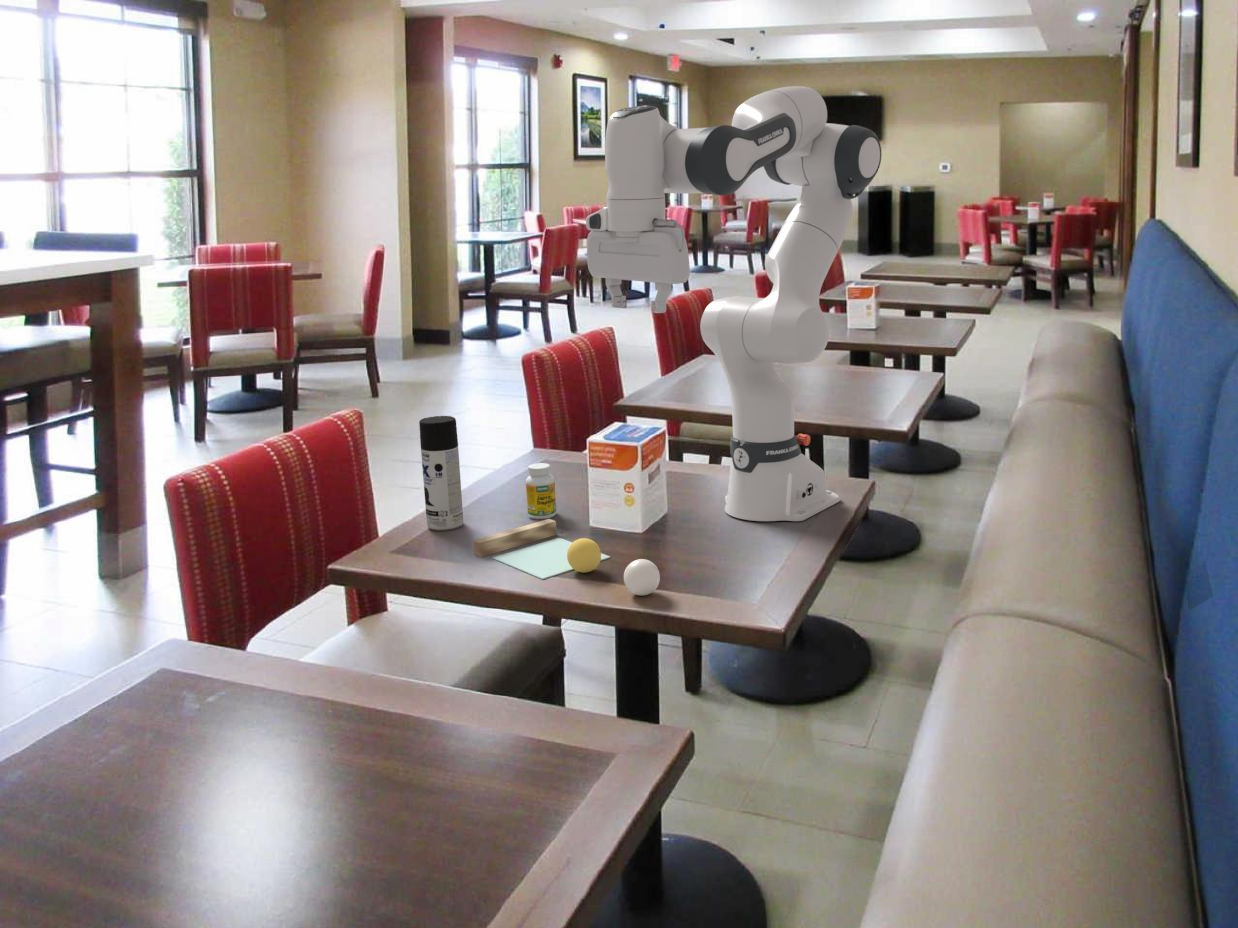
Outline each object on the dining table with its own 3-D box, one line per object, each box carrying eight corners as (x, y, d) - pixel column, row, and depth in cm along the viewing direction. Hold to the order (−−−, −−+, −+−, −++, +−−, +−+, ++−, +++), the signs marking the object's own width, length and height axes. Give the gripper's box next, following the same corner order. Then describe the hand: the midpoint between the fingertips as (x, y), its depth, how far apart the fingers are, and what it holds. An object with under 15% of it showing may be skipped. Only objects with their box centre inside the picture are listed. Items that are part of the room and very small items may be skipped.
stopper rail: (549, 532, 207) (549, 518, 206) (556, 534, 205) (555, 521, 205) (474, 554, 197) (473, 540, 196) (480, 557, 196) (479, 543, 195)
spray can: (423, 523, 215) (414, 417, 209) (458, 517, 217) (450, 413, 212) (432, 533, 209) (423, 425, 203) (468, 527, 211) (460, 420, 206)
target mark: (559, 538, 203) (558, 537, 203) (610, 557, 193) (610, 556, 193) (492, 558, 195) (492, 557, 195) (542, 579, 184) (542, 578, 184)
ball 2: (643, 584, 180) (642, 551, 179) (667, 594, 176) (666, 559, 175) (616, 594, 177) (615, 560, 176) (640, 604, 173) (639, 569, 172)
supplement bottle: (547, 509, 220) (544, 460, 218) (562, 515, 216) (559, 466, 213) (522, 514, 217) (519, 465, 215) (536, 521, 213) (533, 471, 211)
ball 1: (587, 563, 191) (585, 531, 189) (608, 571, 187) (607, 538, 185) (560, 571, 188) (559, 539, 186) (582, 580, 183) (580, 547, 182)
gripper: (699, 218, 170) (700, 313, 173) (610, 216, 185) (612, 303, 189) (666, 221, 166) (668, 318, 169) (578, 218, 181) (582, 307, 185)
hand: (638, 310), depth 179 cm, fingers open, 8 cm apart
